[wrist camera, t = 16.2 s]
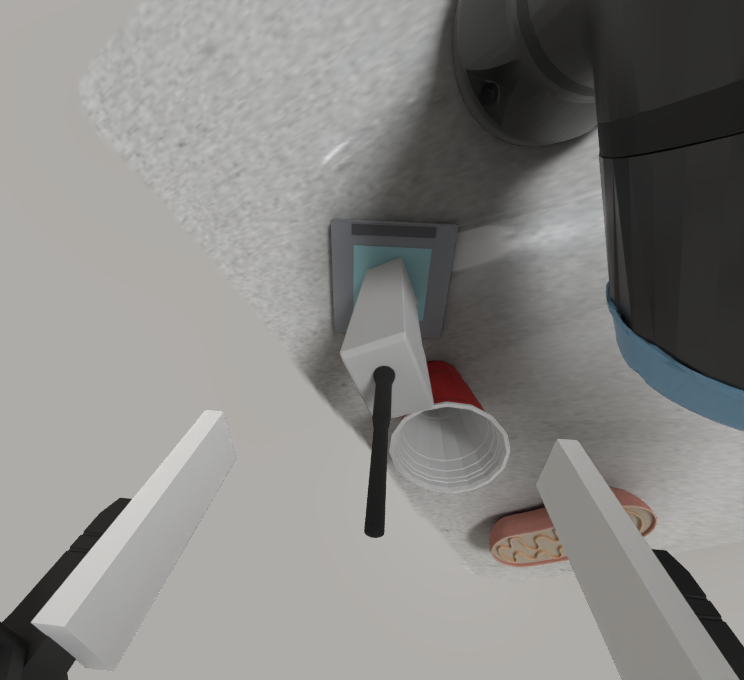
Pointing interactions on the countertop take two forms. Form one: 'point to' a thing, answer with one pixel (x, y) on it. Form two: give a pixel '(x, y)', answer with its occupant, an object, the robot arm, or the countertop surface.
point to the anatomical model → (551, 533)
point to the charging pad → (383, 244)
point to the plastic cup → (449, 438)
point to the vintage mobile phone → (386, 367)
